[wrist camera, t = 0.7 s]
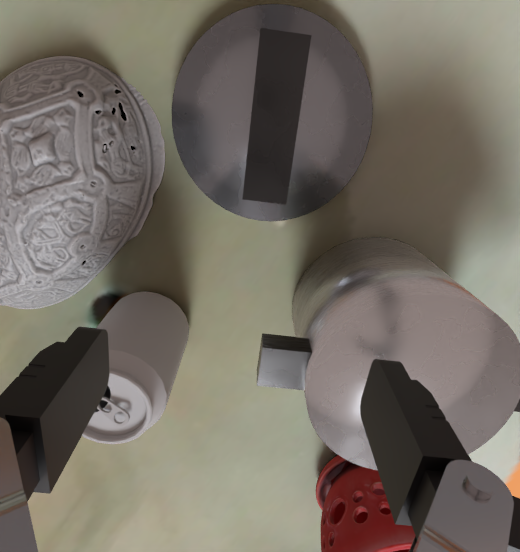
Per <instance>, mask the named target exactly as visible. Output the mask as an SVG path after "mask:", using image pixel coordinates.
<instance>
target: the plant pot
mask: <svg viewBox="0 0 520 552" xmlns="http://www.w3.org/2000/svg"><path fill="white" fill-rule="evenodd" d="M316 498H317V501H318V504H319V506H320V508H321V509H322V510H323V512H322V518H321V550H322V552H409V550H410V547H411V544H412V542H413V540H414V538H415V533H414V530H413V527H412V526H408V525H396V524H395V522H394V519H393V516H392V513H391V510H390V507H389V504H388V501H387V497H386V494H385V491H384V488H383V485H382V482H381V479H380V476H379V473H378V470H373V469H369V468H365V467H362V466H359V465H357V464H354V463H352V462H350V461H348V460H346V459H344V458H342V457H341V456H339V455H337V456H336V457H334V458H333V459H332V460H330V461H329V462H328V463H327V464H326V465H325V467H324V468H323V470H322V471H321V473H320V476H319V478H318V481H317V485H316Z"/></svg>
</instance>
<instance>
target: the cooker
mask: <svg viewBox="0 0 520 552" xmlns="http://www.w3.org/2000/svg"><path fill="white" fill-rule="evenodd" d="M292 320H293V326H294V332H295V337H290V336H281V335H271V334H262V339H261V346H260V353H259V360H258V367H257V386H267V387H277V388H287V389H297V390H304V392H305V398H306V404H307V409H308V414H309V417H310V420H311V423H312V425H313V427H314V429H315V431H316V432H317V434H318V436H319V437H320V438H321V439H322V441H323V442H324V443H325V444H326V445H327V446H328V447H329V448H330V449H331V450H332V451H334V452H335V453H336V454H338V455H339V456H341V457H342V458H344V459H346V460H348V461H350V462H352V463H354V464H357V465H359V466H362V467H365V468H369V469H373V470H377V466H376V463H375V460H374V457H373V454H372V451H371V448H370V445H369V442H368V438H367V435H366V432H365V429H364V426H363V423H362V420H361V414H360V404H361V398H362V394H363V391H364V387H365V384H366V381H367V377H368V374H369V370H370V367H371V364H372V362H373V360H374V359H381V360H390V361H399V362H401V363H402V364H403V366H404V368H405V370H406V371H407V373H408V375H409V377H410V379H411V380H418V381H419V382H420V383H421V384H422V385H423V386H424V387H425V388H426V389H428V390H429V391H430V392H431V393H432V395H433V397H434V398H435V400H436V402H437V403H438V405H439V409H441V410H442V412H443V414H444V415H445V417H446V421H448V422H449V424H450V425H451V427H452V429H453V430H454V432H455V434H456V435H457V437H458V439H459V440H460V442H461V444H462V445H463V447H464V449H465V450H466V452H467V454H469V453H471V452H473V451H475V450H476V449H478V448H479V447H480V446H482V445H483V444H485V443H486V442H487V441H488V440H489V439H491V438H492V437H493V436H494V435H495V434H496V433H497V432H498V431H499V430H500V429H501V428H502V427H503V426H504V424H505V423H506V422H507V420H508V419H509V418H510V416H511V415H512V413H513V411H517V412H520V343H519V341H518V339H517V337H516V335H515V334H514V332H513V331H512V329H511V328H510V327H509V325H508V324H507V323H506V322H504V321H503V320H502V319H501V318H500V317H499V316H498V315H497V314H496V313H494V312H493V311H492V310H491V309H489V308H488V307H487V306H486V305H485V304H483V303H482V302H481V301H480V300H478V299H477V298H476V297H475V296H473V295H472V294H471V293H470V292H469V291H467V290H466V289H465V288H464V287H462V286H461V285H460V284H459V283H457V282H456V281H455V280H454V279H453V278H451V277H450V276H449V275H448V274H446V273H445V272H444V271H443V270H442V269H440V268H439V267H438V266H437V265H435V264H434V263H433V262H432V261H430V260H429V259H428V258H427V257H426V256H424V255H423V254H422V253H421V252H419V251H418V250H416V249H415V248H413V247H412V246H410V245H408V244H406V243H403V242H400V241H397V240H394V239H389V238H381V237H369V238H360V239H355V240H351V241H348V242H345V243H342V244H340V245H338V246H336V247H334V248H332V249H330V250H329V251H327V252H325V253H324V254H323V255H321V256H320V257H319V258H318V259H316V260H315V261H314V262H313V264H312V265H311V266H310V267H309V268H308V269H307V270H306V272H305V273H304V274H303V276H302V278H301V280H300V281H299V283H298V286H297V288H296V291H295V294H294V298H293V303H292Z"/></svg>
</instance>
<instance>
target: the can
mask: <svg viewBox="0 0 520 552" xmlns="http://www.w3.org/2000/svg"><path fill="white" fill-rule="evenodd" d="M97 329H105V330H106V331H107V333H108V346H109V381H108V385H107V389H106V391H105V394H104V396H103V397H102V399H101V401H100V403H99V405H98V407H97V408H96V410H95V412H94V414H93V416H92V418H91V419H90V421H89V423H88V425H87V427H86V429H85V430H84V432H83V434H82V436H83V437H85V438H87V439H90V440H92V441H95V442H98V443H106V444H119V443H126V442H129V441H131V440H133V439H136V438H138V437H139V436H140V435H141V434H143V433H144V432H145V431H146V430H147V429H148V428H150V427H151V426H152V425H153V424H155V423H156V422H157V421H158V420H159V419H160V417H161V415H162V414H163V412H164V410H165V408H166V405H167V402H168V399H169V396H170V393H171V390H172V386H173V383H174V380H175V377H176V374H177V371H178V368H179V365H180V362H181V359H182V356H183V353H184V350H185V347H186V344H187V341H188V335H189V325H188V322H187V318H186V316H185V314H184V313H183V311H182V310H181V308H180V307H179V306H178V305H177V304H176V303H174V302H173V301H172V300H171V299H169V298H167V297H165V296H163V295H160V294H158V293H152V292H145V291H144V292H137V293H131V294H129V295H127V296H125V297H123V298H121V299H120V300H119V301H118V302H117V303H116V304H115V305H114V306H113V308H112V309H111V310H110V311H109V313H108V314H107V315H106V316H105V318H104V319H103V320H102V322H101V323H100V324H99V325H98V327H97Z"/></svg>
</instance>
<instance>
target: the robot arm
mask: <svg viewBox="0 0 520 552" xmlns="http://www.w3.org/2000/svg"><path fill="white" fill-rule="evenodd" d="M108 381H109V346H108V333H107V331H106V330H105V329H97V328H87V327H78V328H77V329H76V330H75V331H74V332H73V333H72V335H71V336H70V337H69V338H68V340H67V341H66V342H65V343H64V342H56V343H54V344H52V345H50V346H49V347H47V348H45V349H43V350H42V351H40V352H39V353H38V354H37V355H36V356H35V358H34V359H33V360H32V361H31V362H30V363H29V366H26V368H25V369H24V370H23V371H22V372H21V373H20V375H19V377H16V379H15V380H14V381H13V382H12V383H11V384H10V385H9V386H8V387H7V389H6V390H5V391H4V392H3V393H2V394H1V395H0V552H38V549H37V544H36V540H35V535H34V531H33V526H32V522H31V517H30V512H29V508H28V503H27V501H28V500H29V498H30V496H31V495H32V493H33V492H40V493H51V491H52V489H53V487H54V485H55V484H56V482H57V480H58V478H59V476H60V474H61V473H62V471H63V469H64V467H65V465H66V463H67V462H68V460H69V458H70V456H71V454H72V452H73V451H74V449H75V447H76V445H77V443H78V441H79V440H80V438H81V436H82V434H83V432H84V430H85V429H86V427H87V425H88V423H89V421H90V419H91V418H92V416H93V414H94V412H95V410H96V408H97V407H98V405H99V403H100V401H101V399H102V397H103V396H104V394H105V391H106V389H107V385H108ZM360 414H361V420H362V423H363V426H364V429H365V432H366V435H367V438H368V442H369V445H370V448H371V451H372V454H373V457H374V460H375V463H376V466H377V470H378V473H379V476H380V479H381V482H382V485H383V488H384V491H385V494H386V497H387V501H388V504H389V507H390V510H391V513H392V516H393V519H394V522H395V524H396V525H408V526H412V527H413V530H414V533H415V538H414V540H413V542H412V544H411V547H410V550H409V552H520V499H519V498H516V497H514V496H512V495H511V492H510V491H509V489H508V487H507V486H506V485H505V484H504V482H503V481H502V480H501V479H500V478H499V477H498V476H496V475H495V474H494V473H493V472H491V471H490V470H488V469H487V468H485V467H483V466H481V465H479V464H477V463H474V462H472V461H471V459H470V457H469V455H468V454H467V452H466V450H465V449H464V447H463V445H462V444H461V442H460V440H459V439H458V437H457V435H456V434H455V432H454V430H453V429H452V427H451V425H450V424H449V422H448V421H446V417H445V415H444V414H443V412H442V410H441V409H439V405H438V403H437V402H436V400H435V398H434V397H433V395H432V393H431V392H430V391H429V390H428V389H426V388H425V387H424V386H423V385H422V384H421V383H420V382H419V381H418V380H411V379H410V377H409V375H408V373H407V371H406V370H405V368H404V366H403V364H402V363H401V362H399V361H390V360H381V359H374V360H373V362H372V364H371V367H370V370H369V374H368V377H367V381H366V384H365V387H364V391H363V394H362V398H361V404H360Z"/></svg>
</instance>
